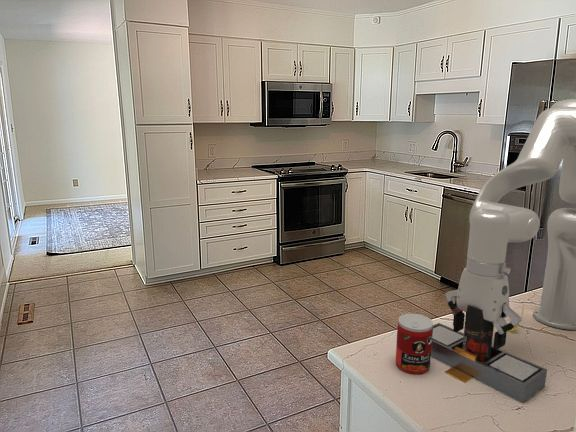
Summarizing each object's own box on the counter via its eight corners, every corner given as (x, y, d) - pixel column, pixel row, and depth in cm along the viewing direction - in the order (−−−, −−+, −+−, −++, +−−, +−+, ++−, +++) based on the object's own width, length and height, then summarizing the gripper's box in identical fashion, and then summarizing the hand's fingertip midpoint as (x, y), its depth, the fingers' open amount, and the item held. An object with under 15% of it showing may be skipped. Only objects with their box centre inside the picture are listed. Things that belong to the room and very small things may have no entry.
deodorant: (455, 361, 103) (460, 301, 99) (476, 356, 105) (482, 297, 101) (473, 374, 97) (479, 312, 94) (495, 370, 99) (502, 308, 96)
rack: (437, 336, 114) (438, 319, 113) (544, 386, 93) (547, 365, 92) (406, 351, 107) (407, 333, 106) (514, 409, 86) (517, 386, 85)
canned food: (399, 375, 97) (402, 329, 95) (391, 355, 105) (394, 313, 103) (434, 375, 97) (438, 329, 95) (424, 355, 105) (427, 313, 103)
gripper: (534, 274, 91) (524, 349, 95) (459, 253, 104) (453, 320, 108) (516, 282, 86) (506, 361, 90) (440, 259, 100) (434, 328, 104)
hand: (477, 338), depth 99 cm, fingers open, 9 cm apart
